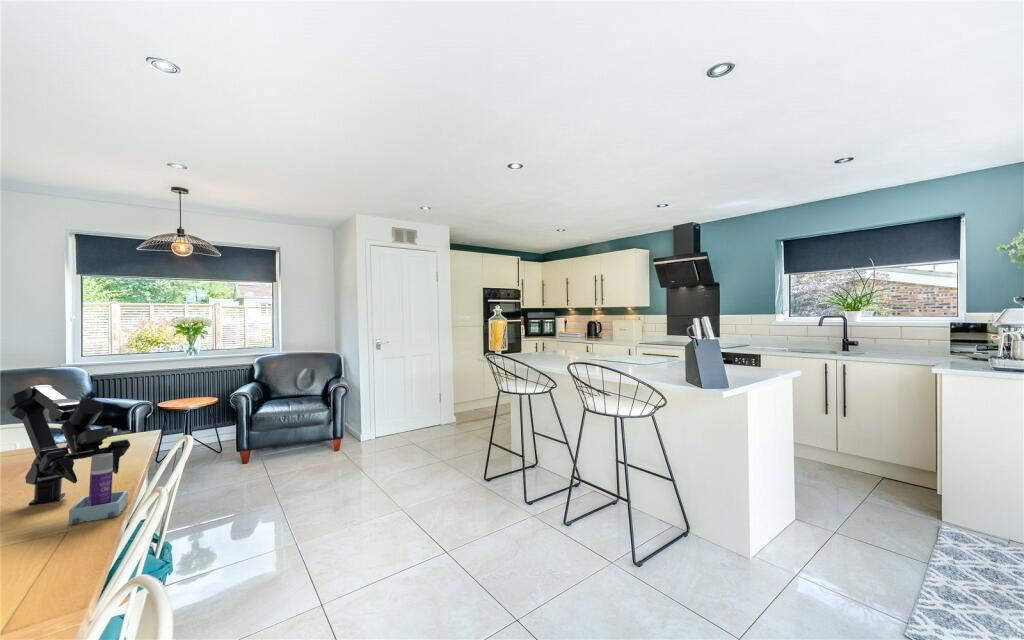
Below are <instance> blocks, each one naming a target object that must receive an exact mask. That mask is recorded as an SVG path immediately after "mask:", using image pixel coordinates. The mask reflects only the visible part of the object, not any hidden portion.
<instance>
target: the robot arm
mask: <svg viewBox="0 0 1024 640" xmlns="http://www.w3.org/2000/svg"><path fill="white" fill-rule="evenodd" d="M103 404H104V403H101V402H100V401H98V400H95V399H92V398H91V397H90V396H89V397H82V398H80V400H78V399H71V398H67V397H66V396H64V395H62V394H61V393H60V392H58V391H57V390H55V389H54V387H53V386H52V385H49V384H40V385H39V384H38V385H37V384H36V385H31V386H28V387H26V388H25V389H24V390H20V391H17V392H16V393H13V394H12V395H10V396H9V398H7V400H6V402H5V406H6V409H7V410H9V412H10V414H11V416H13V417H14V418H16V419H19V420H20V421H22V423H23V425H24V428H25V431H26V433H27V436H28V439H29V441H30V443H31V446H32V449H33V452H34V454H35V458H34V459H33V461H32V463H31V467H30V469H29V470H28V472H27V473H26V474H25V477H24V478H25V484H28V485H33V486H34V490H33V491H34V492H33V493H34V495H33V499H32V500H31V501H30V502H28V505H31V506H32V505H35V504H37V505H38V504H43V503H49V502H55V501H56V502H57V501H60V500H61V499H62V498H63V497H65V496H66V493H65V492H64V493H62V483H63V479H65V480H67V481H69V482H70V483H73V484H77V482H78V478H77V475H76V473H75V471H74V465H75V460H79V459H80V460H83V459H87V458H92V456H94V455H98V454H105V453H113V473H114V474H115V475H116V474H119V468H120V459H121V457H123V456H124V455H125V454H126V452H127V451H128V450H129V448H130V447H131V446H132V445H131V442H130V441H129V440H128V439H119V440H113V441H111V442H110V444H109V445H108V446H107V447H106V446H105V447H100V446H102V445H103V444H104V442H103V440H106V439H108V438H110V437H112V436H114V434H115V432H114V428H113V427H112V425H104V426H102V427H100V428H93V429H91V425H93V424H94V423H95V422H96V420H97V419H98V417H99V416H100V415H101V413H102V412H103V411H104V408H105V406H104V405H103ZM45 410H47V411H48V418H49V419H50V420H51V421H52V422H53V423H62V422H63V423H62V425H61V426H60V431H59V435H63V436H64V438H65V441H66V443H67V444H66V445H65V446H63V447H59V446H58V445H57V442H56V440H55V438H54V435H53V433H52V430H51V428H50V426H49V423H48V420H47V418H46V416H45V413H44V412H45Z"/></svg>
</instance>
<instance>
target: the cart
mask: <svg viewBox="0 0 1024 640" xmlns="http://www.w3.org/2000/svg"><path fill="white" fill-rule="evenodd" d="M128 499H129V490H121V491H115V492H113V491H112V495H111V503H108V504H101V505H95V506H89V495H87V496H82V497H81V498H80V499H79V500H78V501H77V502H76V503H75V504H74V505H72V507H71V508H70V509H69V510H68V526H70V525H72V526H73V525H79V524H80V523H79V522H81V523H84V522H83V521H87V522H93V521H99V520H103V519H113V518H115V516H116V517H119V516H120V515H119V514H121V513H122V512H121V511H124V509H125V507H126V505H128V501H129V500H128ZM88 506H89V507H88ZM92 520H93V521H92ZM69 524H70V525H69Z"/></svg>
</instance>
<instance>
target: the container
mask: <svg viewBox="0 0 1024 640" xmlns="http://www.w3.org/2000/svg"><path fill="white" fill-rule="evenodd" d="M113 473H114V472H113V453H105V454H98V455H94V456H92V457H91V462H90V471H89V489H88V490H89V491H88V496H89V506H95V505H101V504H108V503H111V495H112V493H113V476H114V475H113ZM89 506H88V507H89Z"/></svg>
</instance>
